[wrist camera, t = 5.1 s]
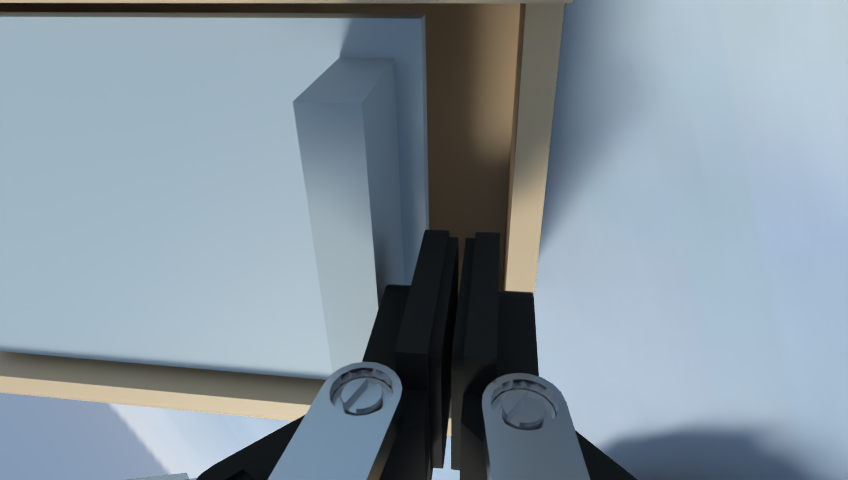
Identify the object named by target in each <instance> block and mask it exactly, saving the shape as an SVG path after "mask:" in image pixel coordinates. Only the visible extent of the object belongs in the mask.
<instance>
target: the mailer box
mask: <svg viewBox="0 0 848 480" xmlns="http://www.w3.org/2000/svg"><path fill="white" fill-rule="evenodd" d="M565 3H574V0H0V12H182V13H425V29H426V86H427V144H428V201H429V230H449V231H450V237H458V238H459V275H458V298H459V289H460V281H461V273H462V265H463V257H464V249H465V241H466V238H475V235H476V232H495V233H500V260H499V290H501V291H519V292H533V296H534V292H535V282H536V273H537V263H538V254H539V245H540V235H541V226H542V216H543V207H544V197H545V188H546V178H547V169H548V159H549V150H550V141H551V131H552V122H553V112H554V103H555V93H556V84H557V74H558V65H559V55H560V46H561V37H562V27H563V18H564V8H565ZM325 381H326V380H322V379H310V378H299V377H288V376H276V375H265V374H254V373H242V372H231V371H220V370H208V369H197V368H186V367H174V366H163V365H152V364H140V363H129V362H117V361H106V360H95V359H83V358H72V357H61V356H49V355H38V354H27V353H15V352H4V351H0V392H3V393H13V394H24V395H33V396H44V397H55V398H64V399H74V400H85V401H94V402H105V403H115V404H125V405H135V406H145V407H155V408H166V409H176V410H186V411H196V412H206V413H216V414H227V415H237V416H247V417H257V418H267V419H277V420H288V421H295V420H296V419H298V418H300V417H302V416H304V415H305V414H306V413H307V411H308V410H309V408H310V406H311V405H312V403H313V401H314V399H315V398H316V396H317V394H318V393H319V391H320V389H321V388H322V386H323V384H324V383H325ZM447 436H450V437H451V404H450V412H449V421H448V430H447Z"/></svg>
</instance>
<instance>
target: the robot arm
mask: <svg viewBox="0 0 848 480" xmlns="http://www.w3.org/2000/svg"><path fill="white" fill-rule="evenodd" d="M499 260H500V233H495V232H476V235H475V238H466V241H465V249H464V257H463V265H462V273H461V281H460V289H459V298H458V275H459V238H458V237H450V231H449V230H425V231H424V235H423V239H422V243H421V247H420V251H419V255H418V259H417V263H416V267H415V271H414V275H413V279H412V283H411V285H394V284H388V285H386V288H385V290H384V293H383V296H382V300H381V303H380V306H379V309H378V312H377V316H376V319H375V322H374V325H373V328H372V331H371V335H370V338H369V341H368V344H367V347H366V351H365V354H364V357H363V360H362V362H358V363H352V364H349V365H347V366H344V367H342V368H340V369H338V370H337V371H335V372H334V373H333V374H331V375H330V376H329V378H328V379H327V380H326V381H325V383H324V384H323V386H322V388H321V389H320V391H319V393H318V394H317V396H316V398H315V399H314V401H313V403H312V405H311V406H310V408H309V410H308V411H307V413H306V414H305V415H304V416H302V417H300V418H298V419H296V420H295V421H293V422H291V423H289V424H287V425H285V426H284V427H282V428H280V429H278V430H276V431H275V432H273V433H271V434H269V435H267V436H266V437H264V438H262V439H260V440H258V441H256V442H255V443H253V444H251V445H249V446H247V447H246V448H244V449H242V450H240V451H238V452H236V453H235V454H233V455H231V456H229V457H227V458H226V459H224V460H222V461H220V462H218V463H217V464H215V465H213V466H212V467H210V468H209V469H207V470H206V471H205V472H203V473H202V474H201V475H200V476H199V477H198V478H193V479H189V477H188V475H187V473H181V474H172V475H164V476H155V477H146V478H137V479H129V480H431V479H432V472H433V468H443V465H444V456H445V448H446V439H447V430H448V421H449V412H450V404H451V469H453V470H460V480H637V479H636V478H634V477H633V476H632V475H631V474H629V473H628V472H627V471H626V470H624V469H623V468H622V467H621V466H619V465H618V464H617V463H616V462H614V461H613V460H612V459H611V458H609V457H608V456H607V455H606V454H604V453H603V452H602V451H601V450H599V449H598V448H597V447H595V446H594V445H593V444H592V443H590V442H589V441H588V440H587V439H585V438H584V437H583V436H582V435H580V434H579V433H578V432H577V431H575V429H574V426H573V422H572V419H571V416H570V413H569V409H568V406H567V403H566V401H565V399H564V397H563V395H562V393H561V392H560V391H559V390H558V389H557V388H556V387H555V386H554V385H553V384H552V383H550V382H549V381H547V380H545V379H543V378H542V377H539V373H538V358H537V342H536V326H535V311H534V296H533V292H519V291H501V290H499Z"/></svg>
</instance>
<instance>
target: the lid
mask: <svg viewBox="0 0 848 480" xmlns="http://www.w3.org/2000/svg"><path fill="white" fill-rule="evenodd" d="M425 230H429V201H428V144H427V86H426V29H425V13H182V12H0V351H4V352H15V353H27V354H38V355H49V356H61V357H72V358H83V359H95V360H106V361H117V362H129V363H140V364H152V365H163V366H174V367H186V368H197V369H208V370H220V371H231V372H242V373H254V374H265V375H276V376H288V377H299V378H310V379H322V380H327V379H328V378H329V376H330V375H331V374H333V373H334V372H335V371H337V370H338V369H340V368H342V367H344V366H347V365H349V364H352V363H358V362H362V360H363V357H364V354H365V351H366V347H367V344H368V341H369V338H370V335H371V331H372V328H373V325H374V322H375V319H376V316H377V312H378V309H379V306H380V303H381V300H382V296H383V293H384V290H385V288H386V285H388V284H394V285H411V283H412V279H413V275H414V271H415V267H416V263H417V259H418V255H419V251H420V247H421V243H422V239H423V235H424V231H425Z"/></svg>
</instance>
